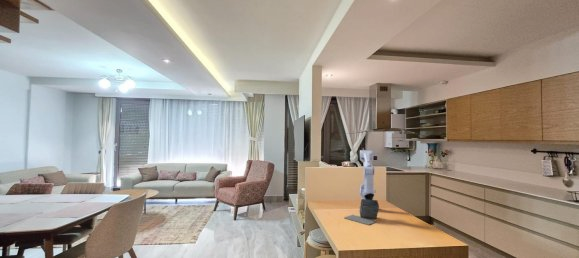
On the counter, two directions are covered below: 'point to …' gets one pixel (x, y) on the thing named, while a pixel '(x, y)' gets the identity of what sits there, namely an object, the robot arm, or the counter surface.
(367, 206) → the small box
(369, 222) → the mat
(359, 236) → the counter surface
